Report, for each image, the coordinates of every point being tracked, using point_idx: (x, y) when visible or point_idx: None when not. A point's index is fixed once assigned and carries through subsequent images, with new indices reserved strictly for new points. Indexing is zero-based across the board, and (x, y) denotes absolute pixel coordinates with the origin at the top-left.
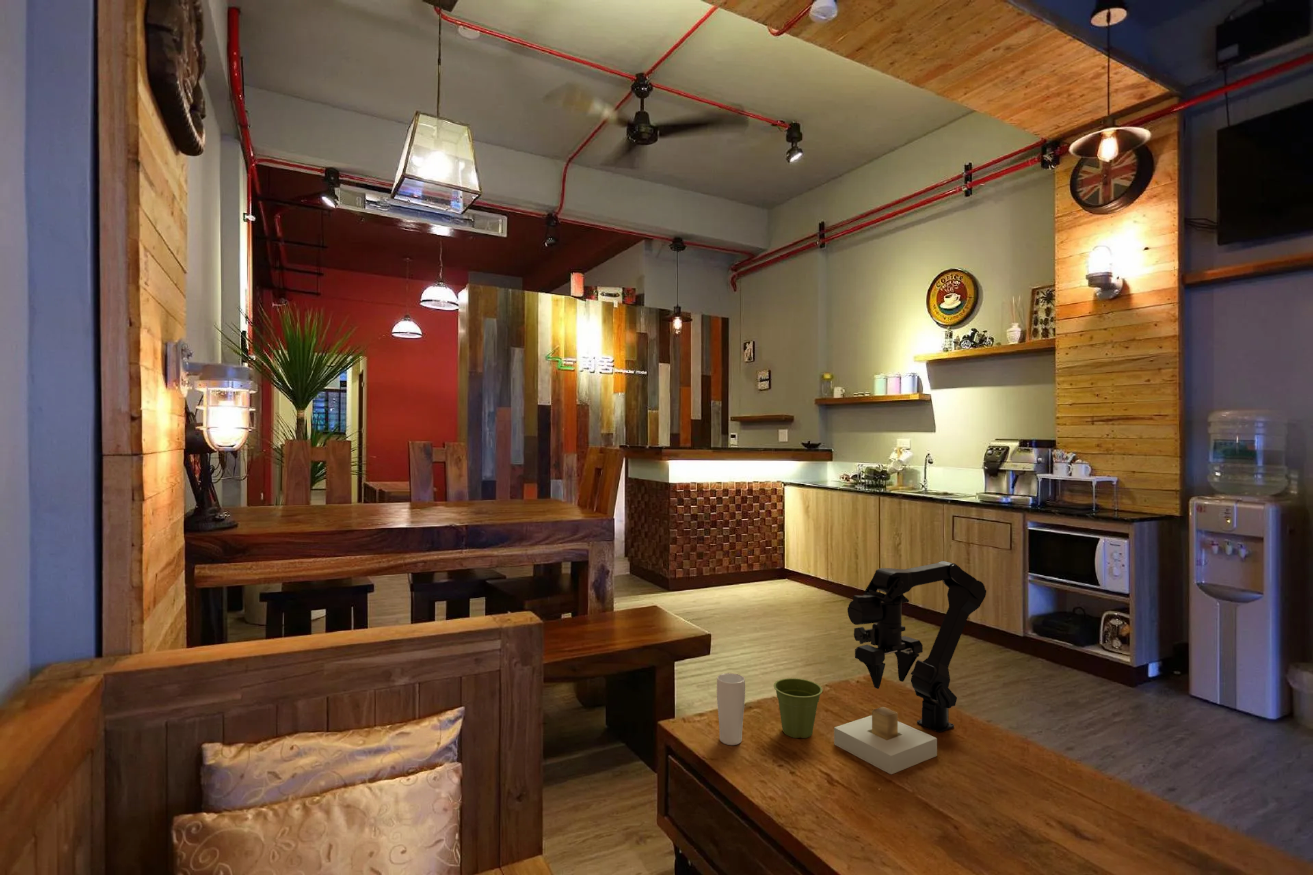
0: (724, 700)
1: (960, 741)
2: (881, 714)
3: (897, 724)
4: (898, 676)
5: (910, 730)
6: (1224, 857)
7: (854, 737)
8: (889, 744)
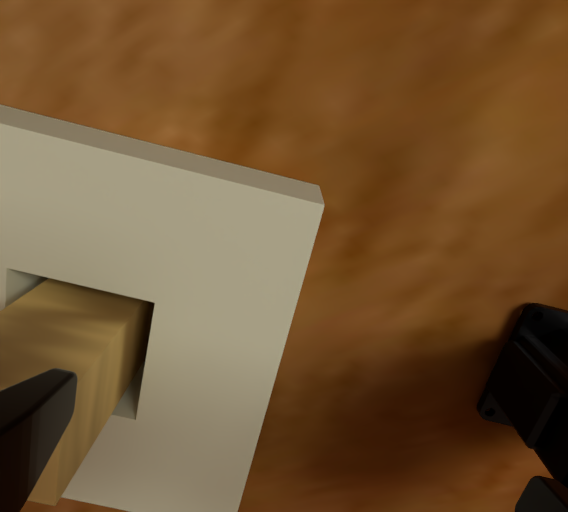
0: None
1: (444, 487)
2: None
3: (94, 439)
4: (566, 508)
5: (217, 428)
6: None
7: None
8: None
